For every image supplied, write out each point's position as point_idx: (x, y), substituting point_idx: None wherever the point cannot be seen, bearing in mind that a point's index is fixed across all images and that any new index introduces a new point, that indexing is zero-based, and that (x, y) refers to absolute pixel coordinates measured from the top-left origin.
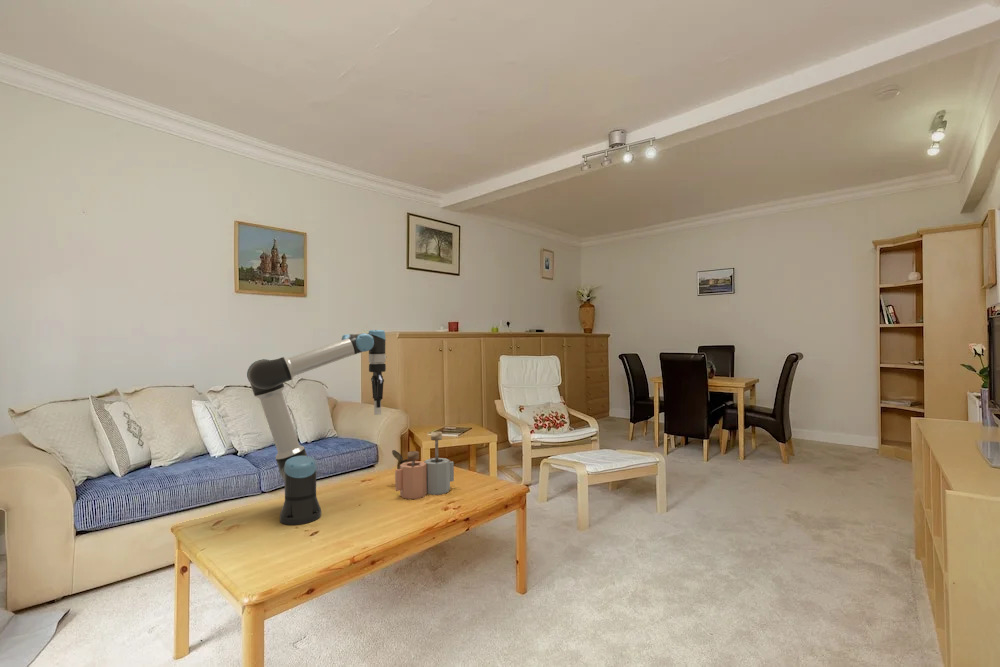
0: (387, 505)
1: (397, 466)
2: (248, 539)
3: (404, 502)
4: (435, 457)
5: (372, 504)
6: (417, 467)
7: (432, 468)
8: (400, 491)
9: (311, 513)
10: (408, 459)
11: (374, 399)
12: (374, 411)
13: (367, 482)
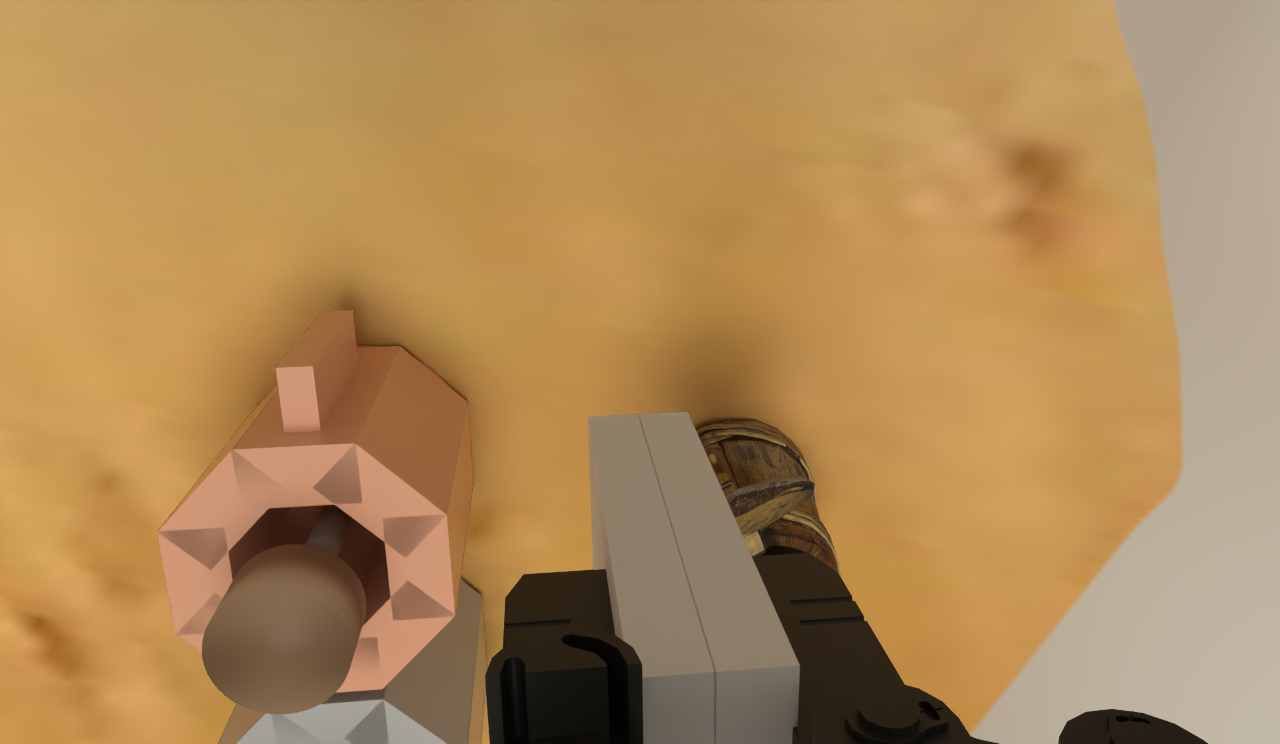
0: (190, 179)
1: (714, 462)
2: None
3: (209, 328)
4: None
5: (277, 66)
6: (170, 581)
7: (248, 713)
8: (387, 355)
9: None
10: (272, 552)
11: (522, 680)
12: (686, 447)
13: (962, 186)
